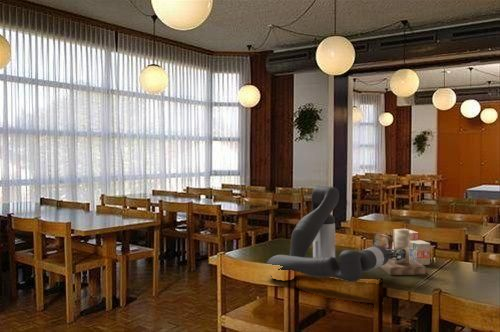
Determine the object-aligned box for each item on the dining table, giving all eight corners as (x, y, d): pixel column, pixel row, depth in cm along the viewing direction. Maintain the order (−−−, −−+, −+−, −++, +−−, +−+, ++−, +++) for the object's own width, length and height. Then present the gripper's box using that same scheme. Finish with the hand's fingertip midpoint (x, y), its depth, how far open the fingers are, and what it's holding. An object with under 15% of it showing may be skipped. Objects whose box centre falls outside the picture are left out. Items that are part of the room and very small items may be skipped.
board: (390, 275, 184) (390, 267, 184) (380, 267, 196) (380, 260, 196) (425, 274, 185) (425, 266, 185) (413, 266, 197) (413, 259, 197)
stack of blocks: (430, 264, 200) (430, 236, 200) (416, 265, 199) (416, 236, 199) (405, 254, 221) (405, 228, 221) (392, 254, 220) (392, 228, 220)
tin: (372, 248, 234) (372, 231, 233) (378, 248, 235) (378, 231, 234) (387, 255, 219) (387, 237, 219) (394, 254, 220) (394, 236, 220)
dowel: (397, 271, 188) (397, 231, 187) (392, 267, 193) (392, 229, 193) (411, 271, 188) (411, 231, 187) (406, 267, 194) (406, 228, 193)
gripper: (356, 264, 177) (377, 257, 189) (392, 270, 167) (411, 262, 179) (356, 244, 177) (377, 238, 189) (392, 249, 167) (411, 242, 179)
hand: (393, 250), depth 184 cm, fingers open, 8 cm apart
